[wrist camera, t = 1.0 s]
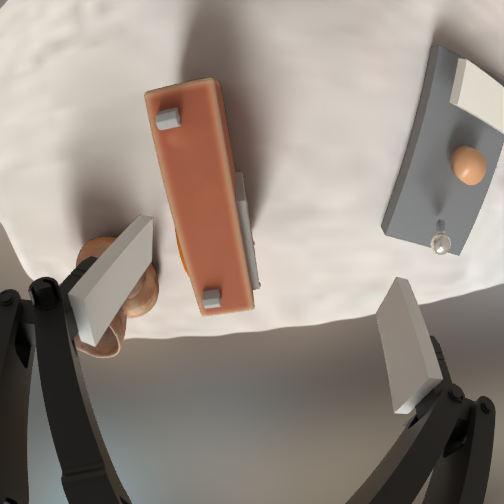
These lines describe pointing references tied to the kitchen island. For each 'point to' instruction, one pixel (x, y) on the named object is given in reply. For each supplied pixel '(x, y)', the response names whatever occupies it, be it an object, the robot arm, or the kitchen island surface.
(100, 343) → the ceramic jug
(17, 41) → the kitchen island surface
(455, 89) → the rocker switch
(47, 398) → the robot arm
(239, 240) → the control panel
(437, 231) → the toggle lever
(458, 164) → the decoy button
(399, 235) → the switch panel
